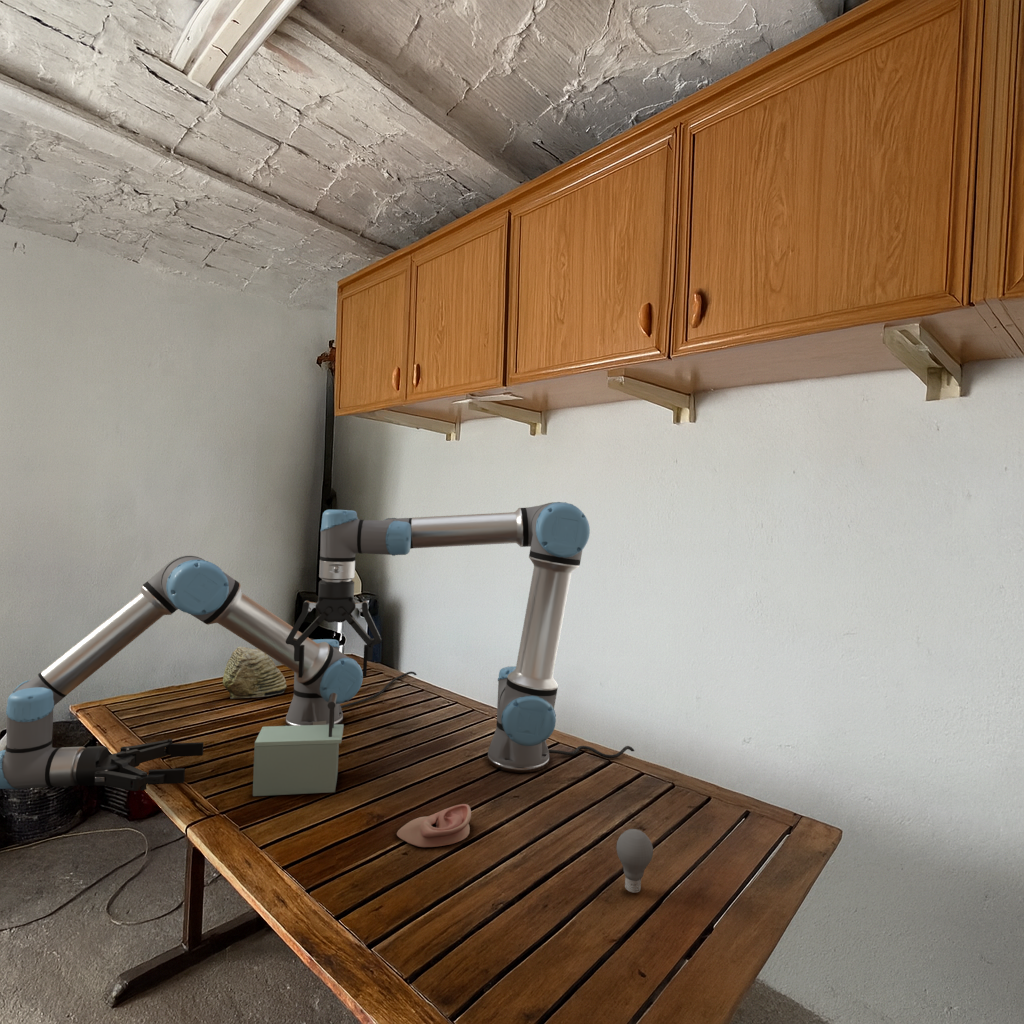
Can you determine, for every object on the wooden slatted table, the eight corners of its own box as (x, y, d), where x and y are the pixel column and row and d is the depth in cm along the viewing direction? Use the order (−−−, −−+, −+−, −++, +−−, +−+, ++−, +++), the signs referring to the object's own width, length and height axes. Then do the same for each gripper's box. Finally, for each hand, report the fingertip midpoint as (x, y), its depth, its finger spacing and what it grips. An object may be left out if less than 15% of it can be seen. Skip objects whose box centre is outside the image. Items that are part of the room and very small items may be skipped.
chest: (337, 773, 145) (339, 728, 145) (334, 792, 136) (336, 743, 136) (260, 777, 142) (262, 730, 142) (252, 796, 133) (254, 746, 132)
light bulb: (610, 879, 108) (613, 822, 108) (644, 879, 109) (647, 822, 109) (619, 902, 102) (622, 840, 102) (655, 901, 103) (658, 840, 103)
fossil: (218, 695, 195) (220, 647, 195) (278, 685, 208) (279, 640, 207) (228, 703, 189) (230, 653, 188) (289, 692, 201) (290, 645, 201)
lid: (343, 727, 145) (345, 690, 145) (341, 743, 136) (342, 703, 136) (262, 730, 142) (263, 691, 141) (254, 746, 132) (256, 705, 132)
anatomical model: (391, 821, 117) (413, 793, 128) (390, 842, 117) (412, 813, 128) (460, 832, 114) (476, 802, 125) (459, 853, 114) (475, 822, 126)
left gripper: (107, 759, 142) (209, 755, 147) (50, 814, 118) (174, 807, 122) (108, 726, 142) (210, 723, 146) (51, 774, 118) (175, 769, 122)
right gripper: (274, 581, 133) (270, 681, 134) (394, 582, 138) (390, 679, 139) (279, 576, 141) (276, 671, 141) (394, 578, 146) (390, 670, 146)
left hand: (194, 761), depth 134 cm, fingers open, 13 cm apart
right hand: (333, 675), depth 140 cm, fingers open, 13 cm apart
